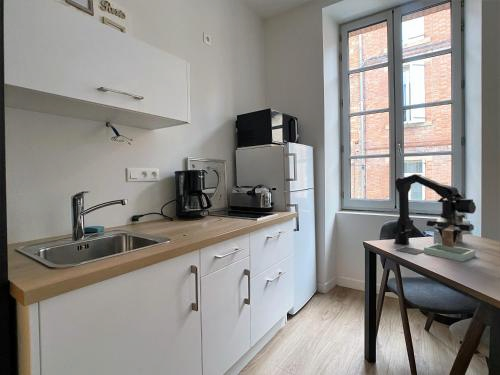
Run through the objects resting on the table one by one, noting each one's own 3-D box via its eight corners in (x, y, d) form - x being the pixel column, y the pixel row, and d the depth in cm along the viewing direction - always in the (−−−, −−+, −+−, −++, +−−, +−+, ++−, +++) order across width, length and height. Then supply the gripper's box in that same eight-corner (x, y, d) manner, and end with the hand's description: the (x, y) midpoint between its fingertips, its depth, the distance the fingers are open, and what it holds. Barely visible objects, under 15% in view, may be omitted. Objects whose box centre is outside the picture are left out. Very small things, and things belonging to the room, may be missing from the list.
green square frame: (424, 253, 139) (423, 247, 139) (437, 248, 146) (437, 243, 146) (462, 261, 124) (462, 255, 124) (475, 256, 131) (475, 250, 131)
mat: (396, 250, 145) (396, 249, 145) (406, 247, 150) (406, 246, 150) (415, 254, 136) (415, 253, 136) (425, 251, 141) (425, 250, 141)
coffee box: (444, 241, 161) (444, 215, 160) (441, 239, 167) (441, 213, 166) (463, 242, 158) (463, 215, 157) (458, 239, 164) (458, 214, 163)
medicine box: (447, 244, 154) (447, 229, 154) (452, 246, 150) (452, 231, 149) (433, 244, 155) (433, 229, 154) (437, 246, 150) (437, 231, 150)
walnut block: (441, 245, 136) (441, 230, 135) (446, 244, 138) (446, 229, 138) (452, 247, 132) (452, 231, 131) (456, 245, 134) (456, 230, 134)
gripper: (421, 211, 138) (421, 240, 139) (464, 215, 122) (464, 248, 123) (431, 209, 144) (432, 237, 144) (474, 212, 128) (474, 244, 128)
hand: (449, 241), depth 135 cm, fingers closed on walnut block, 4 cm apart
